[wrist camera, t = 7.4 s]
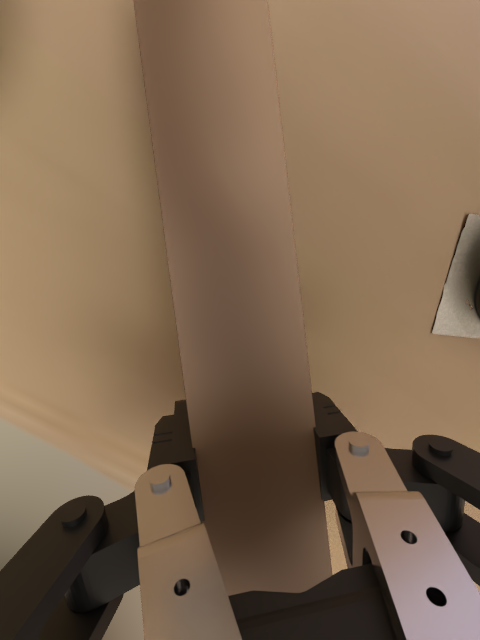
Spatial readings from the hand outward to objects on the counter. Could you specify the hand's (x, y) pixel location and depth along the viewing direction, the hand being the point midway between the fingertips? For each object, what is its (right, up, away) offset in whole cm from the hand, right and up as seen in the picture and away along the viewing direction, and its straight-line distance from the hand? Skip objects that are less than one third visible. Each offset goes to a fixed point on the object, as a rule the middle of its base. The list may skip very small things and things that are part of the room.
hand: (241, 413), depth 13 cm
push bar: (-1, +4, +2) cm, 5 cm away
